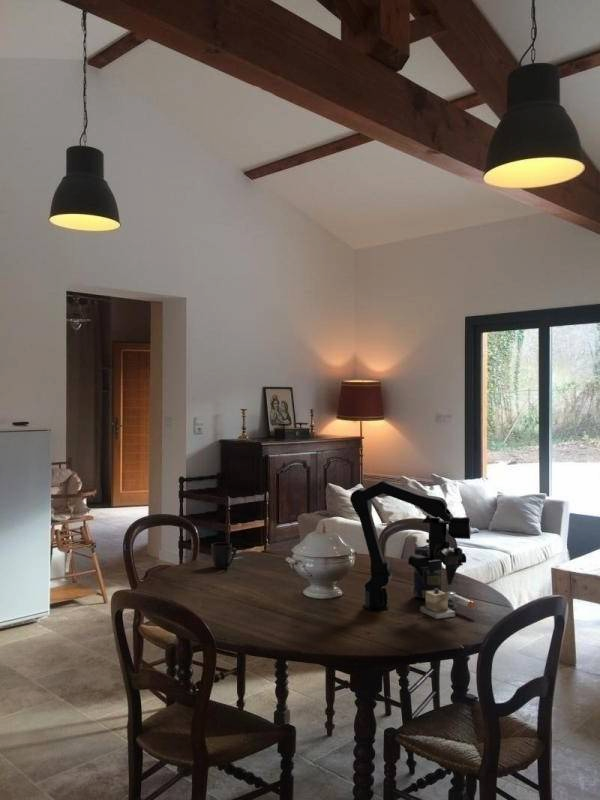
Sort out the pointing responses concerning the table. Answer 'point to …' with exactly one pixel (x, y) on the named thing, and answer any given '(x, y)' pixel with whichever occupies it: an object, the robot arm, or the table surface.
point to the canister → (432, 575)
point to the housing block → (436, 600)
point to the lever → (461, 600)
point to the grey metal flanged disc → (451, 604)
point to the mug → (222, 554)
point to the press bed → (438, 613)
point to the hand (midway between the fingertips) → (437, 586)
